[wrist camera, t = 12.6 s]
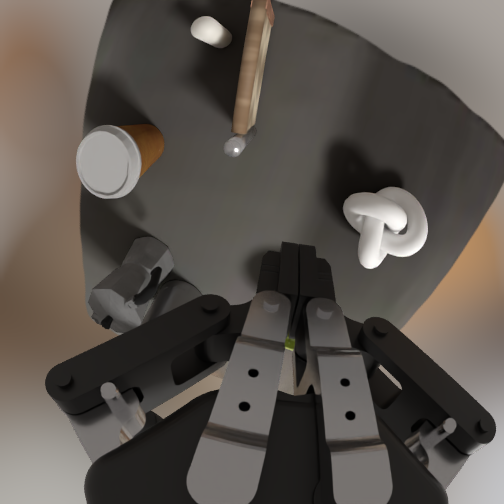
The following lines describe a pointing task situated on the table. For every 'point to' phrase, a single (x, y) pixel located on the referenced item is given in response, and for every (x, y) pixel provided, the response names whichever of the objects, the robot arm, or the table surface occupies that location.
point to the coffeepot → (131, 285)
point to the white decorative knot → (386, 224)
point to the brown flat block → (252, 65)
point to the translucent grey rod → (239, 142)
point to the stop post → (211, 32)
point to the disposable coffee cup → (117, 157)
